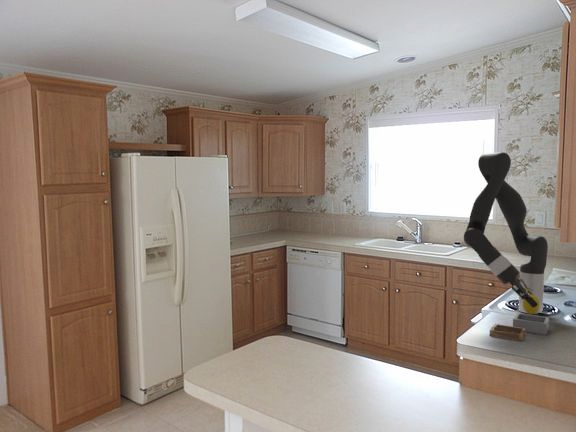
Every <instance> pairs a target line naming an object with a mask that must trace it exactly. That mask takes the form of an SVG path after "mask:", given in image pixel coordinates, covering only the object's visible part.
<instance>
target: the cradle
mask: <svg viewBox="0 0 576 432" xmlns="http://www.w3.org/2000/svg"><path fill="white" fill-rule="evenodd" d="M526 334H527V332H526V328H520V327H513V325H506V324H500V323H494V324H493V326H492V327H491V328H490V329H489V337H494V338H495V337H496V338H501V339H507V340H513V341H518V342H524V341H523V340H524V339H525V336H526Z"/></svg>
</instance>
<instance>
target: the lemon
mask: <svg viewBox="0 0 576 432" xmlns="http://www.w3.org/2000/svg"><path fill="white" fill-rule="evenodd" d="M530 297H532V298H533V299H534V300H535V301H536V302H537V303H538V305H537V306H536V307H534V308H533V307H532V306H531V305H530V304H529V303H528V302H527V301H526V300H524V301H523V308H524V310H525V311H526V312H527V313H526V314H528V315H535V314H534V313H536V312H537V311H538V310H539V306H540V304H539V300H538V298H537V297H536V296H534V295H533V294H530Z"/></svg>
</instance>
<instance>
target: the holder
mask: <svg viewBox="0 0 576 432" xmlns="http://www.w3.org/2000/svg"><path fill="white" fill-rule="evenodd" d="M512 326H513V327H520V328H526V333H533V334H537V335H545V336H547V334H548V331H549V328H550V317H549V316H541V315H537V314H532V315H529V313H522V312H521V313H519V312H516V314H515V315H514V317H513V319H512Z"/></svg>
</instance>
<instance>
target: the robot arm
mask: <svg viewBox="0 0 576 432" xmlns="http://www.w3.org/2000/svg"><path fill="white" fill-rule="evenodd" d="M477 161H478V168H479V171H480V174H481V175H482V177H483V178H484V180H485V181H486V183H487V184H486V185H485V187H484V189H483V190H482V191H481V192H480V193H479V194H478V195H477V197H476V198H475V200H474V202H473V204H472V208H471V211H470V215H469V221H468V224H467V227H466V230H465V232H464V234H463V241H464V243H465V245H466V246H467V247H469V248H472V250H474V252H475V253H477V255H478V257H479V259H481V261H482V262H483V264H485V265H486V266H487V267H488V268H489V270H490V271H491V273H492V274H493V275H494V276H495V277H496V278H497V279H498V281H499V282H501V283H502V284H503V285H507V284H508V283H509V285H511V287H510V288H511V289H512V290H513V291H514V292H515V294H517V295H518V311H519V312H521V313H523V314H528V313H527V312H526V311H525V310H524V308H523V301H524V300H526V301H527V302H528V303H529V304H530V305H531V306H532V307H533V308H534V307H536V306H537V305H538V303H537V302H536V301H535V300H534V299H533V298H532V297H530V294H533V295H534V296H536V297H537V298H538V300H539V304H540V306H539V310H538V311H537V312H536V313H534V314H533V315H539V314H538V313H540V312H542V311H543V308H544V288H545V287H544V286H545V285H544V284H545V283H544V282H545V269H546V266H547V260H548V249H549V245H548V240H547V238H545V237H544V236H541V235H531V234H529V233H528V231H527V229H526V227H525V220H526V216H527V212H528V211H527V206H526V204H525V202H524V200H523V198H522V196H521V194H520V193H519V192H518V191H517V190H516V189H515V187H512V186H511V185H510V184H509V183H508V182H507V181H506V177H507V176H508V174H509V171H510V169H511V164H512V161H511V156H510V155H509V154H508V153H507V152H503V151H498V152H487V153H486V152H485V153H483V154H481V155H480V156H479V158H478V160H477ZM495 200H496V202H497V204H498V206H499V207H498V208H500V211H501V213H502V215H503V217H504V219H505V221H506V223H507V226H508V228H509V229H510V232H511V236H512V238H513V242H514V244H515V247H516V250H517V252H518V253H519V254H520V255H522V256H525V257H530V261H529V262H527V263H523V264H521V265H520V266H519V269H517V267H515V265H514V264H513V263H512V262H511V261H509V259H508V258H506V257H505V256H504V254H502V253H501V252H500V251H499V250H498V249H497V248H496V247H495V246H494V245H493V244H492V243H491V242H490V240H489V239H488V238H487V236H486V235H485V229H486V226H487V224H488V223H489V219H490V216H491V212H492V208H493V206H494V202H495ZM517 276H519V278H518V277H517Z"/></svg>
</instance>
